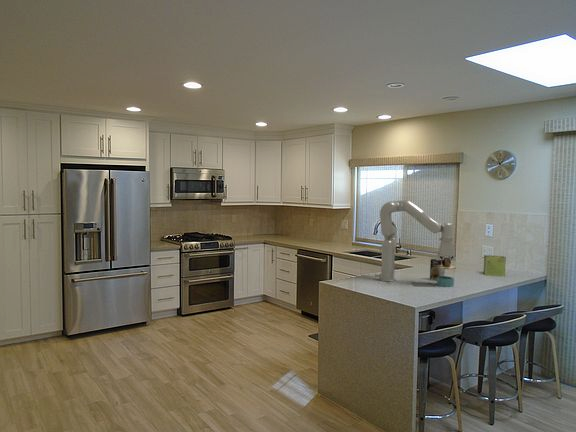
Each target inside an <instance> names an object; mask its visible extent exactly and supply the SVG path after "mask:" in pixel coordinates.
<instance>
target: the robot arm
mask: <svg viewBox="0 0 576 432" xmlns="http://www.w3.org/2000/svg"><path fill="white" fill-rule="evenodd" d="M398 212H399V213H402V212H406V213H407V214H408V215H409V216H411V217H412V218H413V219H415V220H416V221H417V222H418V223H419V224H421V225H422V227H424V228H426V229H427V230H428V231H430V232H431V233H433V234H438V233H441V236H440V238H439V241H440V242H439V246H438V247H439V249H438V253H437V255H436V256H437V257H438V258H440V260H442V264H443V266H445V260H444V258H445V257H447V258H449V259H450V265H451V263H452V262H451V261H452V260H453V259H454V258H456V257H457V256H456V253H455V250H456V249H455V242H453V241H454V240H453V238H454V237H453V235H454V233H453V232H454V230H453V229H454V224H453V223H452V222H439V221H435V220H434V219H433V218H431V217H430V216H429V215H428V214H427V213H426V211H425V210H424V209H422V208H421V207H419V205H417V204H415V202H414V201H413V200H412V199H405V200H404V199H403V200H392V201H390V200H389V201H387V202H385V203H384V204H383V205H382V206H381V207H380V210H379V221H380V233H381V235H382V236H383V238H384V239H383V241H382V242H381V249H380V250H381V272H380V273H379V274H374V277H375V278H378V280H379V281H382V282H395V281H397V278H395V260H396V259H395V258H396V257H395V249H396V248H397V246H398V239H397V238H398V237H397V230H396V227H395V226H394V224H393V219H392V213H398Z"/></svg>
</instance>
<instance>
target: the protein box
mask: <svg viewBox="0 0 576 432" xmlns="http://www.w3.org/2000/svg"><path fill="white" fill-rule="evenodd" d="M506 260H507V259H506V256H504V255H492V254H491V255H489V254H488V255H487V254H486V255H485V254H484V257H483V275H484V276H491V277H503V276H504V277H506Z"/></svg>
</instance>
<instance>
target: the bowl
mask: <svg viewBox="0 0 576 432" xmlns="http://www.w3.org/2000/svg"><path fill="white" fill-rule="evenodd" d="M436 285H437V286H439V287H443V288H453V287H454V285H455V278H454V277H453V276H448V275H447V276H446V275H444V276H438V277H437V281H436Z"/></svg>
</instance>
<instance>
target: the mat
mask: <svg viewBox="0 0 576 432" xmlns="http://www.w3.org/2000/svg"><path fill="white" fill-rule="evenodd" d="M409 283H410V285H412V286H413V287H420V288H421V287H422V288H423V287H424V288H436V286H435V285H434V284H433V283H431V282H422V281H410V282H409Z"/></svg>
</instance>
